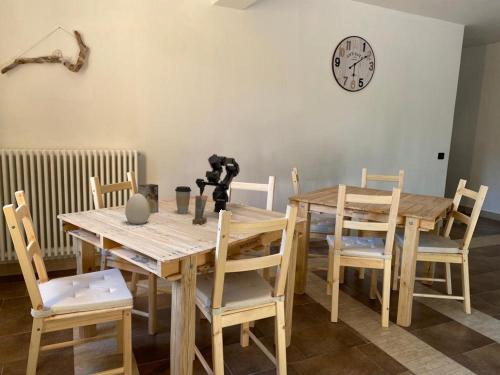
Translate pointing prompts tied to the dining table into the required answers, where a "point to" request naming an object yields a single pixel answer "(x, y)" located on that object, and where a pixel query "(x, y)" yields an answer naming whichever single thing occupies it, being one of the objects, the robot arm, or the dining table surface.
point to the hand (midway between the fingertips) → (208, 196)
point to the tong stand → (198, 212)
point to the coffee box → (150, 195)
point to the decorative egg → (137, 209)
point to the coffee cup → (182, 199)
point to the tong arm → (203, 204)
